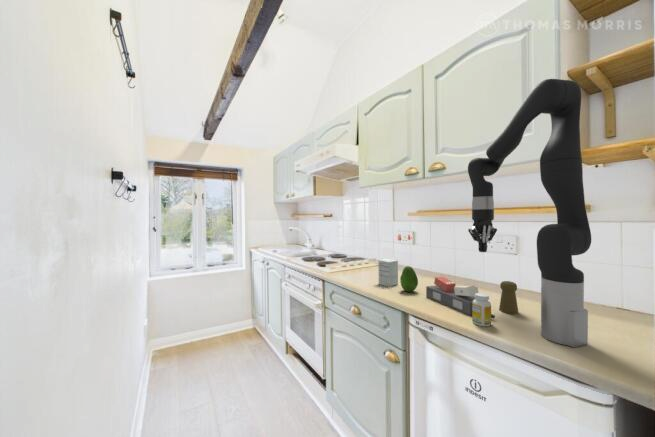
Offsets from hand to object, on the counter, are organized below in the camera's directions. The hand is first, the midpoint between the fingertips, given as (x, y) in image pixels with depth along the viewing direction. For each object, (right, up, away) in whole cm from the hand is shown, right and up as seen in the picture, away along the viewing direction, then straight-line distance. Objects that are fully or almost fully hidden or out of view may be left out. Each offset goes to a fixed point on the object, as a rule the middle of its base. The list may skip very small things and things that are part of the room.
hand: (482, 251), depth 106 cm
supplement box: (-30, -21, +33) cm, 49 cm away
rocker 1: (-13, -16, +6) cm, 21 cm away
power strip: (-10, -21, -2) cm, 24 cm away
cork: (+6, -21, -7) cm, 23 cm away
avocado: (-23, -21, +19) cm, 37 cm away
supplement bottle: (-11, -22, -18) cm, 30 cm away
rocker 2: (-9, -16, -5) cm, 19 cm away
